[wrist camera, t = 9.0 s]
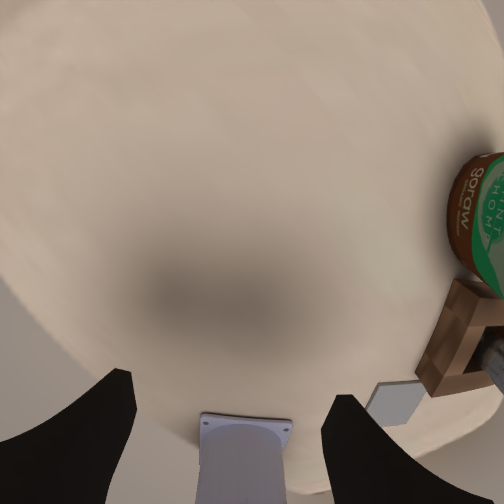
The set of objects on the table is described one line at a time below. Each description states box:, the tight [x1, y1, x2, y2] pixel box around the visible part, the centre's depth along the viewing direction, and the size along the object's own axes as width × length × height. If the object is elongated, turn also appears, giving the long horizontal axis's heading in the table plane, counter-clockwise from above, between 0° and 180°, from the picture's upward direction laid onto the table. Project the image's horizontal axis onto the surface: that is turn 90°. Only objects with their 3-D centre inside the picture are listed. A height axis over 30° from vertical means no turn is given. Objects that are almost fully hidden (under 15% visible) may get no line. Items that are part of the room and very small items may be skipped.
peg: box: [471, 326, 504, 395], centre depth 16 cm, size 3×3×9 cm
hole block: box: [415, 279, 504, 398], centre depth 18 cm, size 9×9×4 cm
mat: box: [365, 380, 426, 427], centre depth 22 cm, size 6×6×1 cm
